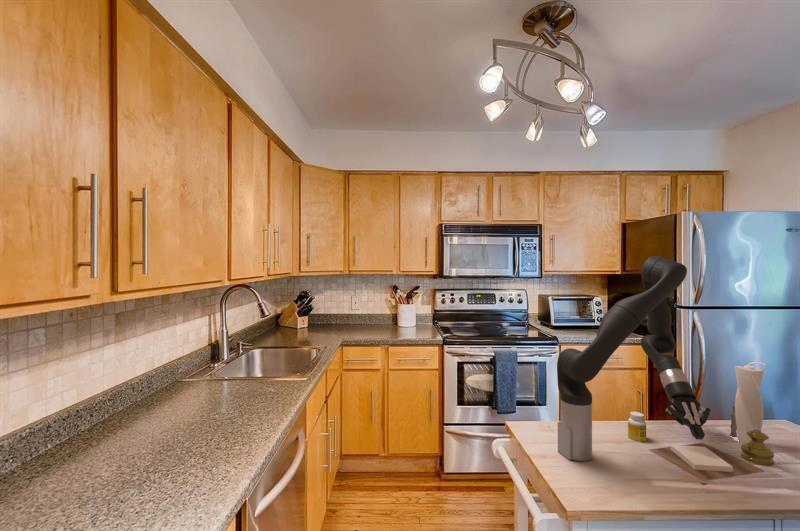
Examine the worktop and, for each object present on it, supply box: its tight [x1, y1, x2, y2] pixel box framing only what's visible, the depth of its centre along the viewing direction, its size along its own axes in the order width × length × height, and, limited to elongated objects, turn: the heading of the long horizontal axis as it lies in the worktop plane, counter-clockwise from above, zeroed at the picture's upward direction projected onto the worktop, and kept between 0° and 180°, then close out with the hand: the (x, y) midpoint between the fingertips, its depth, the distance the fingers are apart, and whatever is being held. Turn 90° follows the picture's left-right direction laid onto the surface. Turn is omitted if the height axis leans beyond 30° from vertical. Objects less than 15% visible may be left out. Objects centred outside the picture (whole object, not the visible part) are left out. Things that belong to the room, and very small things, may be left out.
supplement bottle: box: [627, 411, 647, 443], centre depth 131 cm, size 5×5×10 cm
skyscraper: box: [729, 361, 767, 445], centre depth 130 cm, size 8×8×28 cm
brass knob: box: [740, 430, 775, 467], centre depth 117 cm, size 7×7×10 cm
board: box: [648, 442, 765, 486], centre depth 117 cm, size 22×18×1 cm
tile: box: [670, 444, 733, 472], centre depth 116 cm, size 10×2×12 cm
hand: (700, 438), depth 117 cm, fingers closed
